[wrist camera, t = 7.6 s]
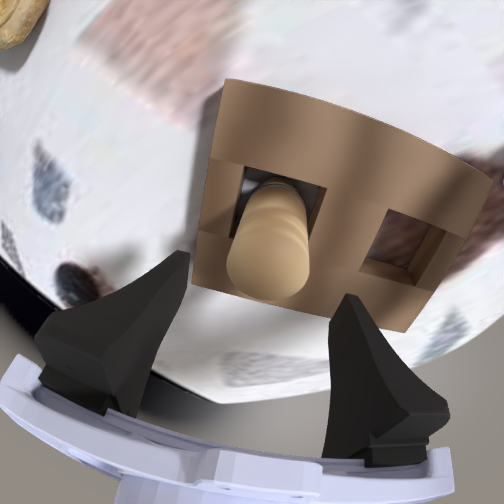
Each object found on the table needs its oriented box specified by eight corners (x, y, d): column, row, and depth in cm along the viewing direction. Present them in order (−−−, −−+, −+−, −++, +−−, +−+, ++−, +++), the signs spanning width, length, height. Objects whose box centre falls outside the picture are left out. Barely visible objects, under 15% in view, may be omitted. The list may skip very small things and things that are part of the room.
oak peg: (312, 181, 21) (321, 247, 13) (295, 227, 23) (293, 308, 15) (258, 165, 20) (236, 222, 13) (245, 213, 23) (219, 288, 15)
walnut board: (478, 169, 17) (494, 180, 15) (399, 314, 26) (404, 333, 24) (233, 78, 17) (225, 78, 15) (199, 266, 26) (191, 283, 24)
